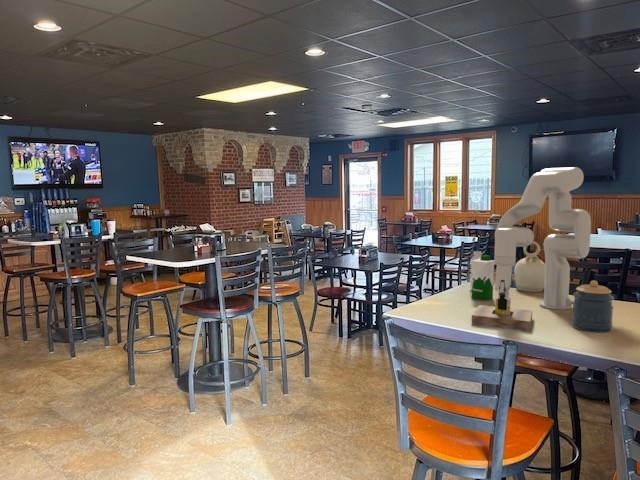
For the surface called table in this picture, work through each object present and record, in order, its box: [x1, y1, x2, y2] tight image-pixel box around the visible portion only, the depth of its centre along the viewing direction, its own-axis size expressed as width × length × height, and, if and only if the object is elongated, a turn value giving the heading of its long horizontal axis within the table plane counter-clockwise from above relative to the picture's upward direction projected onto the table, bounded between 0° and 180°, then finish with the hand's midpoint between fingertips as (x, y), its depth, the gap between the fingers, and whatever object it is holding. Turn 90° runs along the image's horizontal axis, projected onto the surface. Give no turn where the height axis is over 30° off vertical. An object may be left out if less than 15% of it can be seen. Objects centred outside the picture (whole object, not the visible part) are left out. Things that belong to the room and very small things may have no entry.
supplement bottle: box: [494, 290, 512, 316], centre depth 181 cm, size 5×5×10 cm
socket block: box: [471, 304, 534, 332], centre depth 181 cm, size 20×18×4 cm
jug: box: [513, 240, 545, 293], centre depth 241 cm, size 15×16×25 cm
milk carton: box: [470, 254, 495, 301], centre depth 221 cm, size 9×9×20 cm
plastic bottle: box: [469, 250, 483, 291], centre depth 238 cm, size 6×7×20 cm
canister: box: [571, 279, 615, 333], centre depth 173 cm, size 13×13×18 cm
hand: (502, 307), depth 181 cm, fingers closed on supplement bottle, 5 cm apart
